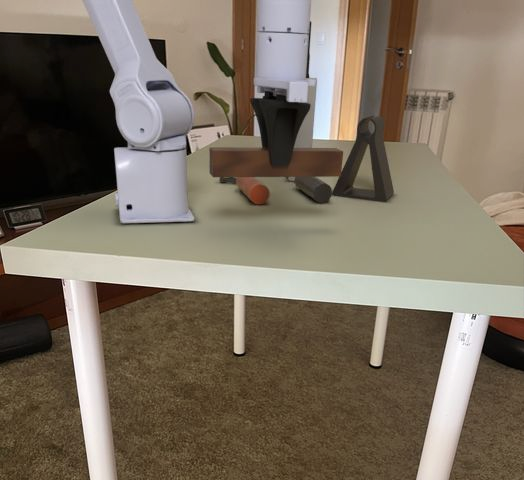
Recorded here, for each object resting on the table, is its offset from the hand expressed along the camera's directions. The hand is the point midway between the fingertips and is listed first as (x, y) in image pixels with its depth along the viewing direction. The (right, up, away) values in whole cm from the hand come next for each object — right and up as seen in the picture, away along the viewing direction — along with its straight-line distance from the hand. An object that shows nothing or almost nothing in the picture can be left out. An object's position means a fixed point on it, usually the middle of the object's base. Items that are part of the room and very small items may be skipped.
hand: (276, 163), depth 67 cm
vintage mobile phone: (+5, +8, +34) cm, 36 cm away
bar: (0, -1, +1) cm, 1 cm away
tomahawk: (-6, +11, +38) cm, 40 cm away
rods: (+1, +2, +22) cm, 22 cm away
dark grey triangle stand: (+15, +3, +25) cm, 29 cm away
